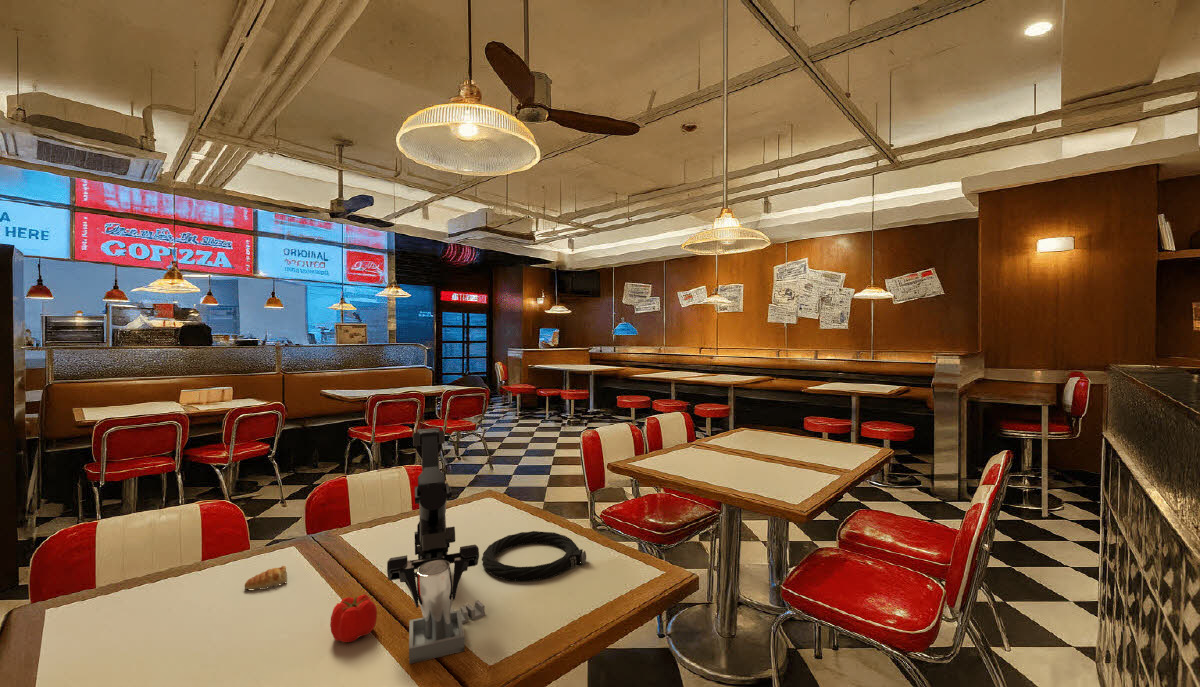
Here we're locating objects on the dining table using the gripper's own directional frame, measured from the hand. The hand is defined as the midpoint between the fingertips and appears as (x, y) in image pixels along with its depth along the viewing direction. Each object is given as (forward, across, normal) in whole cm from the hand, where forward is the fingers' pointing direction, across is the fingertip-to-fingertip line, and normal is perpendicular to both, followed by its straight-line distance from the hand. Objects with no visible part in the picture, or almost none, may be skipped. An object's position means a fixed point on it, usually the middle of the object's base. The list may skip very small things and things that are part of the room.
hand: (435, 603), depth 101 cm
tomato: (-1, -17, +14) cm, 22 cm away
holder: (+5, 0, +7) cm, 9 cm away
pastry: (-24, -40, +38) cm, 60 cm away
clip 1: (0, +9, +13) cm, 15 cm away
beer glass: (+4, 0, +7) cm, 8 cm away
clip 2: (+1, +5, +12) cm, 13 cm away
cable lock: (-15, +28, +29) cm, 43 cm away
